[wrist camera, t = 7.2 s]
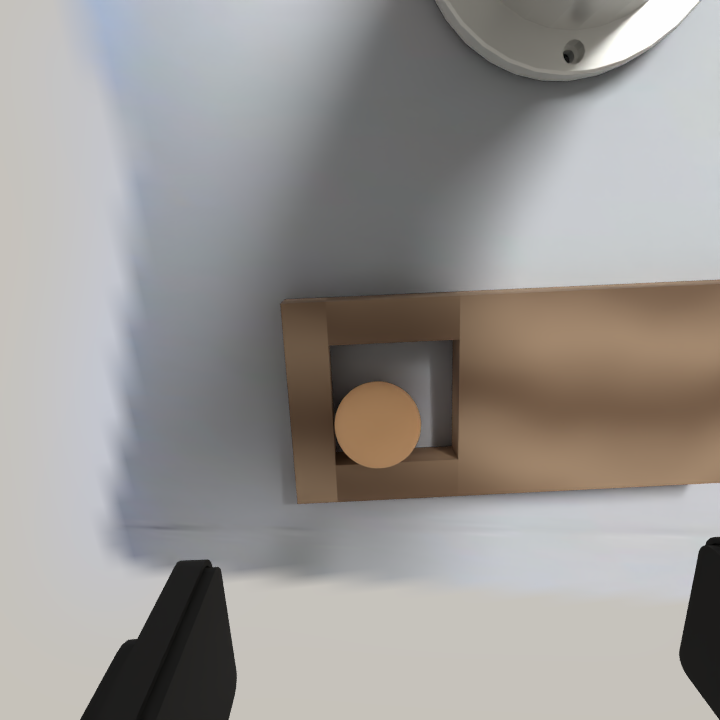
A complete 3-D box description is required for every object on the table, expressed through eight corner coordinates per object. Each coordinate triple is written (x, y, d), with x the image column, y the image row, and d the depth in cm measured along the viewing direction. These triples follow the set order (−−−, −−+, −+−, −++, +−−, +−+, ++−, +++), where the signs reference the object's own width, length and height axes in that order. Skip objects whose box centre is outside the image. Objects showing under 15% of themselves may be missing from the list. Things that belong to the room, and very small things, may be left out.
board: (284, 299, 22) (280, 303, 21) (733, 279, 22) (760, 282, 21) (300, 488, 25) (297, 503, 23) (703, 468, 25) (724, 482, 24)
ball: (338, 399, 19) (432, 392, 20) (328, 374, 23) (408, 369, 23) (341, 488, 20) (431, 479, 21) (332, 450, 24) (408, 443, 24)
